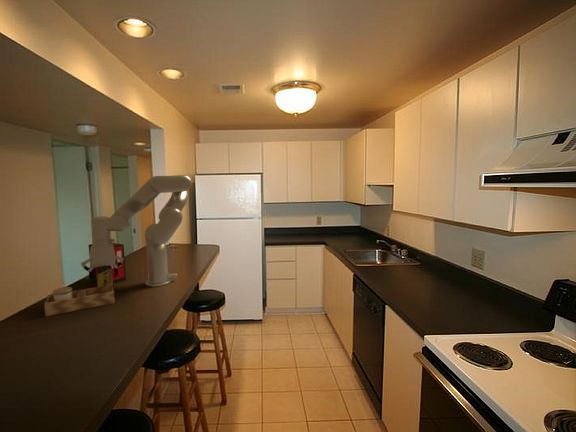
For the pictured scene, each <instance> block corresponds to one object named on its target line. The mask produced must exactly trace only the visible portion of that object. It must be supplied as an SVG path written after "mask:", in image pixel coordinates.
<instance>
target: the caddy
mask: <svg viewBox="0 0 576 432" xmlns="http://www.w3.org/2000/svg"><path fill="white" fill-rule="evenodd" d="M113 285H114V284H113ZM113 285H107V286H101V287H98V286H96V287H91V288H84V289H79V290H72V299H67V300H61V301H55V302H54V294H53V293H52V294H49V295H47V297H46V299H45V302H44V314H45V317H50V316H54V315H55V316H56V315H59V314H64V313H70V312H75V311H80V310H85V309H90V308H97V307H102V306H105V305H106V306H107V305H111V304H116V302H115V301H116V299H115V290H114V286H113Z"/></svg>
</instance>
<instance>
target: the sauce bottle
mask: <svg viewBox="0 0 576 432" xmlns="http://www.w3.org/2000/svg"><path fill="white" fill-rule="evenodd" d="M96 284H97V286H96V287H101V286H107V285H114V284H113V280H112V268H111V266H106V265H104V266H102V267H97V282H96Z"/></svg>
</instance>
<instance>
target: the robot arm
mask: <svg viewBox="0 0 576 432" xmlns="http://www.w3.org/2000/svg"><path fill="white" fill-rule="evenodd" d="M192 184H193V182H192V179H191V178H190V177H189V176H188V175H185V174H177V175H154V176H151V177H150V178H149V179H147V180H146V181H145V183H144V184H143V185H142V186H140V188H139V189H138V190H137V191H136V192H135V193H134V194H133V195H132V196H131V197H129V198H128V199H127V200H126V201H125V202H124V203H123V204H121V206H120V207H118V209H116V211H114V213H113V214H112V215H111V216H110V217H109V216H104V215H103V216H94V217H92V218H91V220H90V227H91V239H92V243H91V244H93V246H91V248H90V257H89V258H88V259H86V260H84V261H81V262H80V265H81V266H82V268H83V269H84V270H85V271H87V273H88V276H89V277H88V279H90V281H91V280H93V272H92V270H93V268H94V267H102V266H104V265H106V266H111V265H113V266H114V267H115V268H114V275H115V277H117V274H118V267H119V266H120V265H121V264H122V262H123V260H124V258H125V257H124V258H121V257H118V256H115V251H114V246H113V244H111V243H116V241H115V238H112V236H111V235H112V233H111V232H124V231H126V230H127V229H129V227H130V219H132V218H133V217H134V216H135V215H136V214H137V213H138V212H141V211H143V210H145V209H146V208H148V207H149V206H150V204H151V203H152V202H153V201H154V200H155V199H156V198H157V197H158V196H159V195H160V194H163V193H164V194H166V193H171V196H170V197H169V199H168V200H167V202H166V203H165V205H164V206H163V207H162V209H161V210H160V211H159V213H158V220H159V221H158V223H151V224H150V225H148V226H147V227H146V229H145V231H144V238H145V239H144V240H145V246H146V247H145V248H146V260H147V276H148V280H147V279H146V281H145V282H144V283H145V285H146V286H148V287H162V286H165V285H168V284H170V283H172V278H177V277H178V273H169V271H168V256H167V254H168V253H167V252H168V251H167V250H168V249H167V243H168V242H169V241H170V240H171V238H172V237H173V236H174V235H175V233H176V231H177V230H178V228H179V227H180V225H181V223H182V222H183V213H182V211H183V209H184V208H185V206H186V205H187V202H188V200H189V199H188V198H189V192H188V191H189V190H190V189H191V187H193V186H192ZM115 259H118V260H120V261H119V263H118V264H116V263H115ZM88 263H89V267H88V266H87V265H86V264H88ZM90 264H91V266H90Z"/></svg>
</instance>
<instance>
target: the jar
mask: <svg viewBox="0 0 576 432" xmlns="http://www.w3.org/2000/svg"><path fill="white" fill-rule="evenodd" d="M72 291H73V287H71V286H64V287H60V288H55V289H54V290H53V291H52V295H53V294H54V302H55V301H61V300H67V299H72Z"/></svg>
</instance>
